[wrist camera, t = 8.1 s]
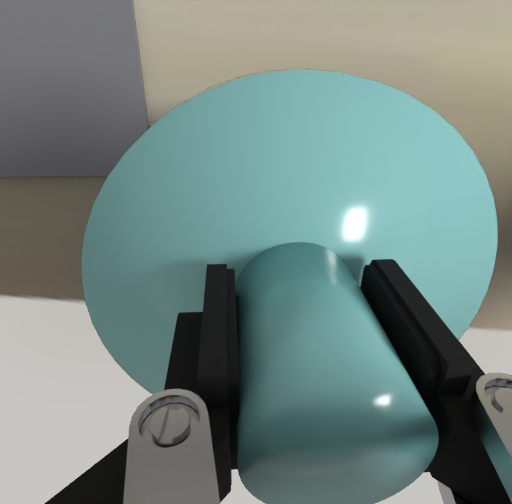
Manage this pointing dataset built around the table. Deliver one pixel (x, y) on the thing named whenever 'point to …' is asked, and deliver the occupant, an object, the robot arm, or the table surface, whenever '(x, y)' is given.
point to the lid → (296, 266)
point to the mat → (68, 87)
